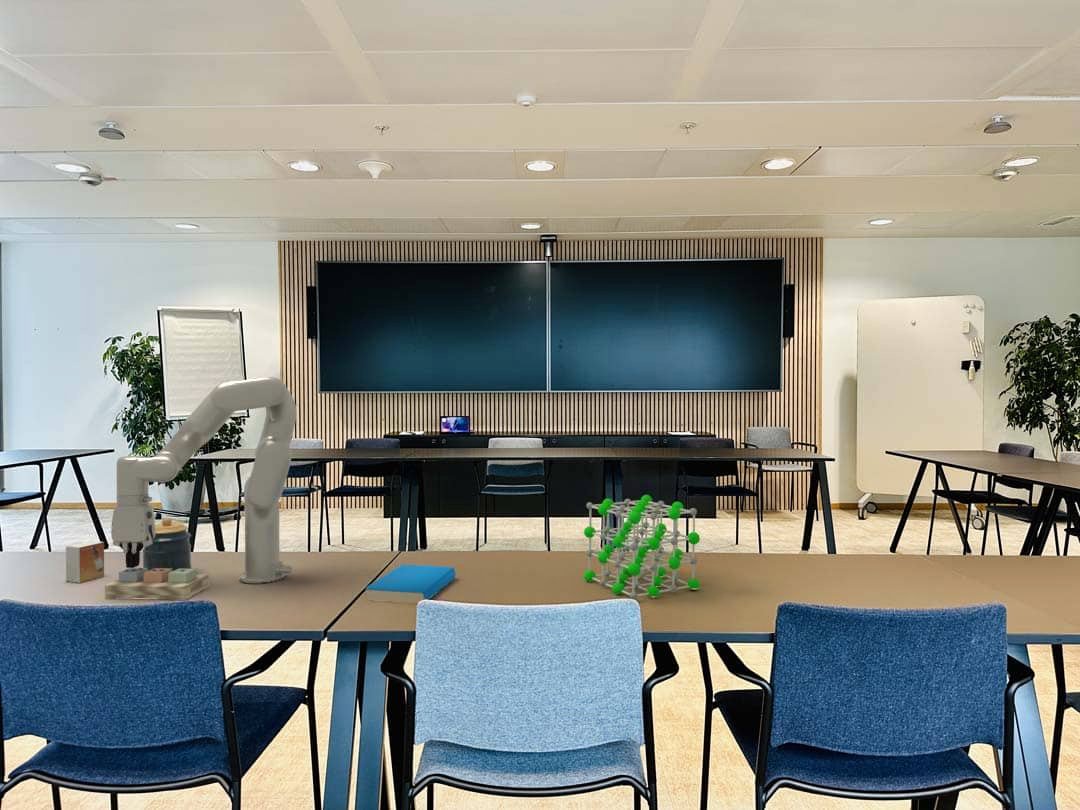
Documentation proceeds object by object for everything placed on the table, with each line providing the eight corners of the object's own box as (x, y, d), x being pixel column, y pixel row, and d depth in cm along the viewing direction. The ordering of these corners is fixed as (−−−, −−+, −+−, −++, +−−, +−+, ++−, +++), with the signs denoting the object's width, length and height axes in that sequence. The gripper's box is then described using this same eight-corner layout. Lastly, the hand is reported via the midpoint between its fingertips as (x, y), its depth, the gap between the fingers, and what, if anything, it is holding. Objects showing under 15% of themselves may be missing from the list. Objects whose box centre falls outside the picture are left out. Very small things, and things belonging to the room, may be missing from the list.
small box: (79, 583, 197) (78, 547, 196) (65, 581, 198) (64, 546, 198) (105, 576, 204) (104, 541, 204) (91, 574, 206) (91, 540, 206)
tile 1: (196, 579, 190) (196, 568, 189) (186, 584, 185) (186, 572, 184) (179, 579, 190) (179, 567, 190) (168, 584, 185) (168, 572, 185)
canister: (163, 569, 213) (163, 513, 212) (200, 571, 210) (200, 514, 210) (132, 580, 200) (131, 520, 199) (171, 582, 198) (170, 522, 197)
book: (365, 588, 181) (401, 563, 205) (365, 604, 181) (401, 577, 206) (426, 591, 178) (455, 565, 202) (426, 607, 178) (455, 580, 202)
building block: (148, 578, 190) (148, 567, 190) (136, 583, 185) (136, 572, 185) (130, 578, 191) (130, 566, 191) (118, 583, 186) (118, 571, 186)
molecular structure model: (646, 570, 212) (647, 493, 211) (702, 591, 190) (703, 505, 190) (581, 581, 200) (581, 499, 200) (633, 604, 178) (633, 513, 178)
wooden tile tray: (208, 587, 193) (208, 574, 193) (184, 600, 181) (184, 586, 181) (134, 585, 194) (133, 573, 194) (104, 598, 182) (104, 585, 182)
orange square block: (172, 579, 190) (172, 567, 190) (161, 584, 185) (161, 572, 185) (155, 578, 190) (154, 567, 190) (143, 583, 185) (143, 572, 185)
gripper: (167, 499, 191) (167, 564, 191) (115, 498, 192) (115, 562, 192) (150, 503, 183) (150, 571, 184) (97, 502, 184) (97, 569, 184)
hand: (132, 566), depth 188 cm, fingers closed
